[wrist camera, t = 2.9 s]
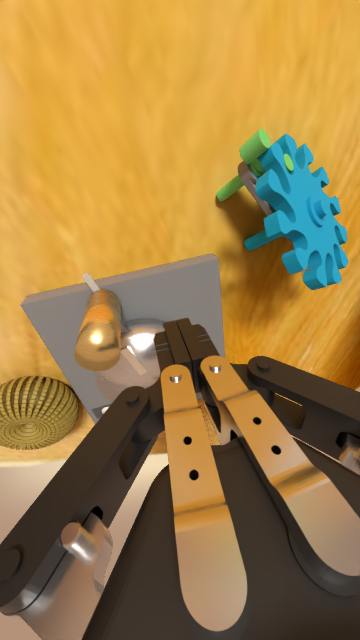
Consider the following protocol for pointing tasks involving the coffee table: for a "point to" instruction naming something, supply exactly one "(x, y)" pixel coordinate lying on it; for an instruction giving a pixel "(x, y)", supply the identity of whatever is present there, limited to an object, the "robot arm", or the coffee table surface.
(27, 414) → the sculpture
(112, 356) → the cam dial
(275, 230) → the gear
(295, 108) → the coffee table surface
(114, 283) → the board
